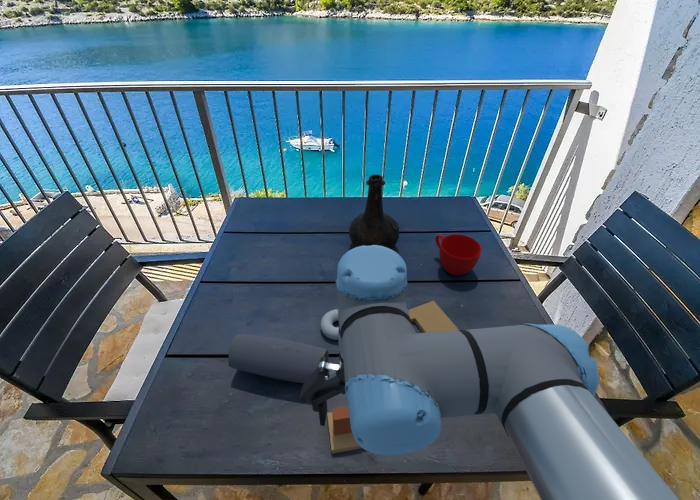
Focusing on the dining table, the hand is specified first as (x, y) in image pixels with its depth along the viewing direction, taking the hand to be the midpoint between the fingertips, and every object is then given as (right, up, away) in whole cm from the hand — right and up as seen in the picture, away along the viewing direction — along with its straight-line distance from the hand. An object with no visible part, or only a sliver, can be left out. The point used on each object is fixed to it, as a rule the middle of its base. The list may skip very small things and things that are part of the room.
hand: (363, 422), depth 59 cm
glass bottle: (+6, +31, +69) cm, 76 cm away
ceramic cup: (+33, +24, +61) cm, 73 cm away
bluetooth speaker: (-19, -1, +29) cm, 35 cm away
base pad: (+18, +6, +38) cm, 42 cm away
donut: (-6, +7, +40) cm, 41 cm away
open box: (-3, -11, +17) cm, 20 cm away
